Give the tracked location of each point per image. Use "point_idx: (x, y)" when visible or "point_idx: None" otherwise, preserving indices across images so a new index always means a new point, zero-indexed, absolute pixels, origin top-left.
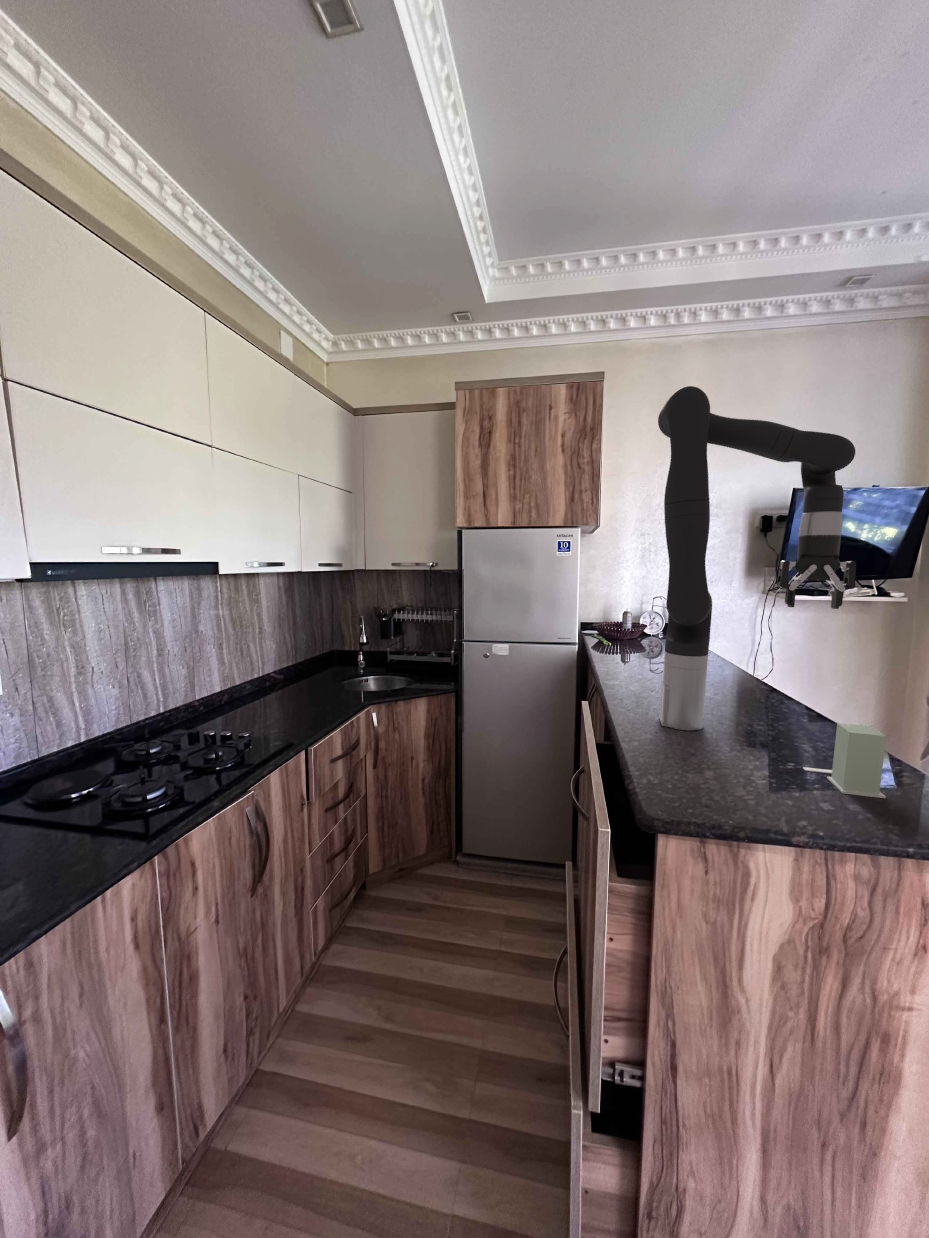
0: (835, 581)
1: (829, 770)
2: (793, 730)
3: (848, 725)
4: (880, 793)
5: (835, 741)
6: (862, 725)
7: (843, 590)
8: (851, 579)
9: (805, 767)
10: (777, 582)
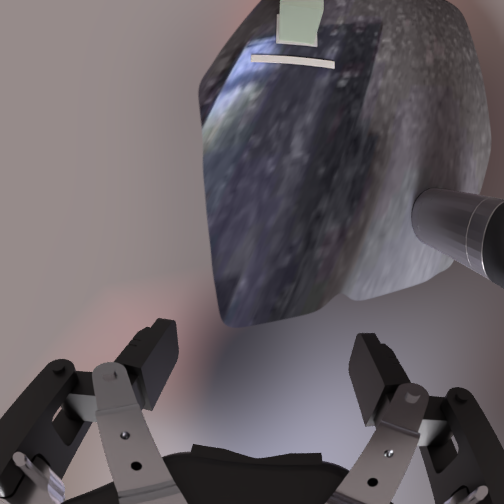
0: (127, 410)
1: (305, 63)
2: (283, 224)
3: (312, 3)
4: (278, 18)
5: (319, 22)
6: (291, 5)
7: (106, 364)
8: (39, 397)
9: (331, 67)
10: (450, 439)
